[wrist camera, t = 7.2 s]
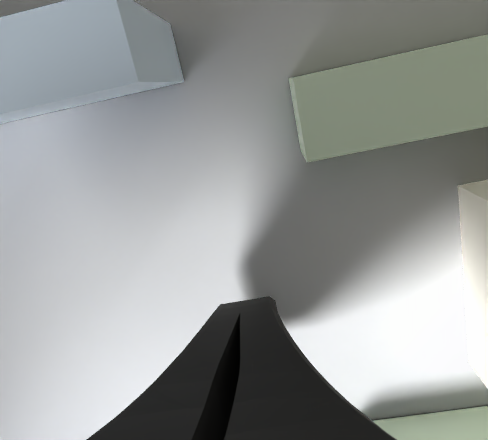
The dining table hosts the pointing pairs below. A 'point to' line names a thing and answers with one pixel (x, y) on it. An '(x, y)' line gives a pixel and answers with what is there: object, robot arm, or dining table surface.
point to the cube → (475, 271)
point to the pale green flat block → (394, 133)
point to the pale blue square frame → (82, 55)
